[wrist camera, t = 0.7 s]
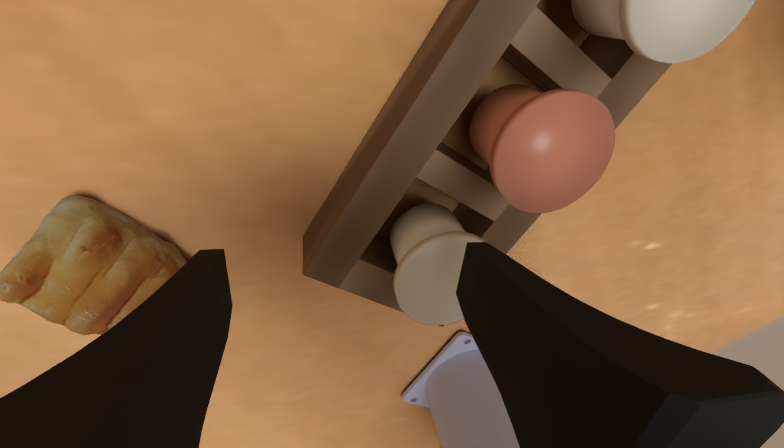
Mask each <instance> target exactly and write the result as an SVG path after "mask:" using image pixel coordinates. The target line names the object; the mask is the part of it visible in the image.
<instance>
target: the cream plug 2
mask: <svg viewBox="0 0 784 448" xmlns="http://www.w3.org/2000/svg"><path fill="white" fill-rule="evenodd" d="M754 2H755V0H571V5H572V11H573V15H574V17H575V20H576V22H577V23H578V25H579V26H580V27H581V28H582V29H583V30H584V31H585V32H587V33H589V34H591V35H595V36H601V37H608V38H615V39H622V40H625V41H626V43H627V44H628V46H629V47H630V48H631V50H633V51H634V52H635V53H636V54H637V55H639V56H641V57H642V58H645V59H648V60H653V61H658V62H663V63H681V62H686V61H689V60H692V59H695V58H697V57H699V56H701V55H703V54H705V53H707V52H708V51H710V50H712V49H713V48H714V47H716V46H717V45H718V44H720V43H721V42H722V41H723V40H724V39H725V38H726V37H728V36H729V35H730V33H731V32H732V31H733V30H734V29H735V28H736V27H737V26H738V25H739V24H740V22H741V21H742V20H743V19H744V17H745V16H746V14H747V13H748V12H749V10H750V9H751V7H752V5H753V4H754Z"/></svg>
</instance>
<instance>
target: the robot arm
mask: <svg viewBox="0 0 784 448" xmlns="http://www.w3.org/2000/svg"><path fill="white" fill-rule="evenodd" d="M456 295H457V298H458V302H459V305H460V308H461V311H462V314H463V317H464V320H465V322H466V324H467V326H468V328H469V330H470V332H471V334H469V333H466V332H459V333H457V334H456V335H455V336H454V337H453V338H452V339H451V341H450V342H449V343H448V344H447V345H446V346H445V347H444V348H443V349H442V351H441V352H440V353H439V354H438V355H437V356H436V357H435V358H434V359H433V361H432V362H431V363H430V364H429V365H428V366H427V367H426V368H425V369H424V371H423V372H422V373H421V374H420V375H419V376H418V377H417V378H416V379H415V381H414V382H413V383H412V384H411V385H410V386H409V387H408V388H407V389H406V391H405V392H404V393H403V394H402V400H403V402H406V403H410V404H414V405H418V406H422V407H426V408H429V409H430V412H431V416H432V419H433V422H434V426H435V429H436V432H437V436H438V439H439V442H440V446H441V448H760V447H761V446H762V445H763V444H764V443H765V442H766V441H767V440H768V439H769V438H770V437H771V436H772V435H773V434H774V433H775V432H776V431H777V430H778V429H779V428H780V426H781V425H782V424H783V423H784V391H783V390H782V389H780V388H779V387H778V386H777V385H776V384H774V383H773V382H772V381H771V380H770V379H768V378H767V377H766V376H765V375H764V374H762V373H761V372H760V371H759V370H757V369H756V368H754V367H752V366H750V365H746V364H743V363H740V362H736V361H733V360H730V359H726V358H723V357H719V356H716V355H713V354H709V353H706V352H702V351H699V350H696V349H693V348H690V347H687V346H685V345H682V344H679V343H676V342H673V341H670V340H667V339H665V338H662V337H659V336H657V335H654V334H652V333H649V332H646V331H644V330H642V329H639V328H637V327H635V326H632V325H630V324H627V323H625V322H623V321H620V320H618V319H616V318H614V317H612V316H609V315H607V314H605V313H603V312H601V311H599V310H597V309H595V308H593V307H591V306H589V305H587V304H585V303H583V302H581V301H580V300H578V299H576V298H574V297H572V296H571V295H569V294H567V293H565V292H564V291H562V290H560V289H559V288H557V287H555V286H554V285H552V284H550V283H549V282H547V281H545V280H544V279H542V278H541V277H539V276H538V275H536V274H534V273H533V272H531V271H530V270H528V269H527V268H525V267H524V266H522V265H521V264H519V263H518V262H516V261H515V260H513V259H512V258H510V257H509V256H507V255H506V254H504V253H503V252H501V251H500V250H498V249H496V248H495V247H493V246H492V245H490V244H488V243H486V242H467V245H466V249H465V254H464V258H463V263H462V267H461V271H460V276H459V280H458V285H457V289H456ZM231 312H232V300H231V293H230V286H229V280H228V273H227V267H226V260H225V253H224V249H211V250H199V251H198V252H197V253H196V254H195V255H194V256H193V257H192V258H191V259H190V260H189V261H188V262H186V263H185V264H184V265H183V266H182V267H181V268H180V269H179V270H178V271H177V272H176V273H175V274H174V275H173V276H172V277H171V278H170V279H169V280H167V281H166V282H165V283H164V284H163V285H162V286H161V287H160V288H159V289H158V290H156V291H155V292H154V293H153V294H152V295H151V296H150V297H149V298H148V299H146V300H145V301H144V302H143V303H141V304H140V305H139V306H138V307H137V308H135V309H134V310H133V311H132V312H131V313H129V314H128V315H127V316H126V317H125V318H123V319H122V320H121V321H120V322H118V323H117V324H116V325H114V326H113V327H112V328H110V329H109V330H108V331H106V332H105V333H104V334H102V335H101V336H99V337H98V338H97V339H95V340H94V341H92V342H91V343H89V344H88V345H87V346H85V347H84V348H82V349H81V350H79V351H78V352H76V353H75V354H73V355H72V356H70V357H69V358H67V359H65V360H64V361H62V362H61V363H59V364H57V365H56V366H54V367H52V368H51V369H49V370H48V371H46V372H44V373H43V374H41V375H39V376H38V377H36V378H35V379H33V380H31V381H30V382H28V383H26V384H25V385H23V386H21V387H20V388H18V389H16V390H14V391H13V392H11V393H9V394H7V395H5V396H4V397H2V398H0V448H199V443H200V437H201V432H202V427H203V423H204V419H205V415H206V411H207V408H208V404H209V401H210V397H211V394H212V391H213V387H214V384H215V380H216V377H217V373H218V370H219V366H220V363H221V359H222V356H223V352H224V349H225V345H226V342H227V338H228V332H229V326H230V319H231Z"/></svg>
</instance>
